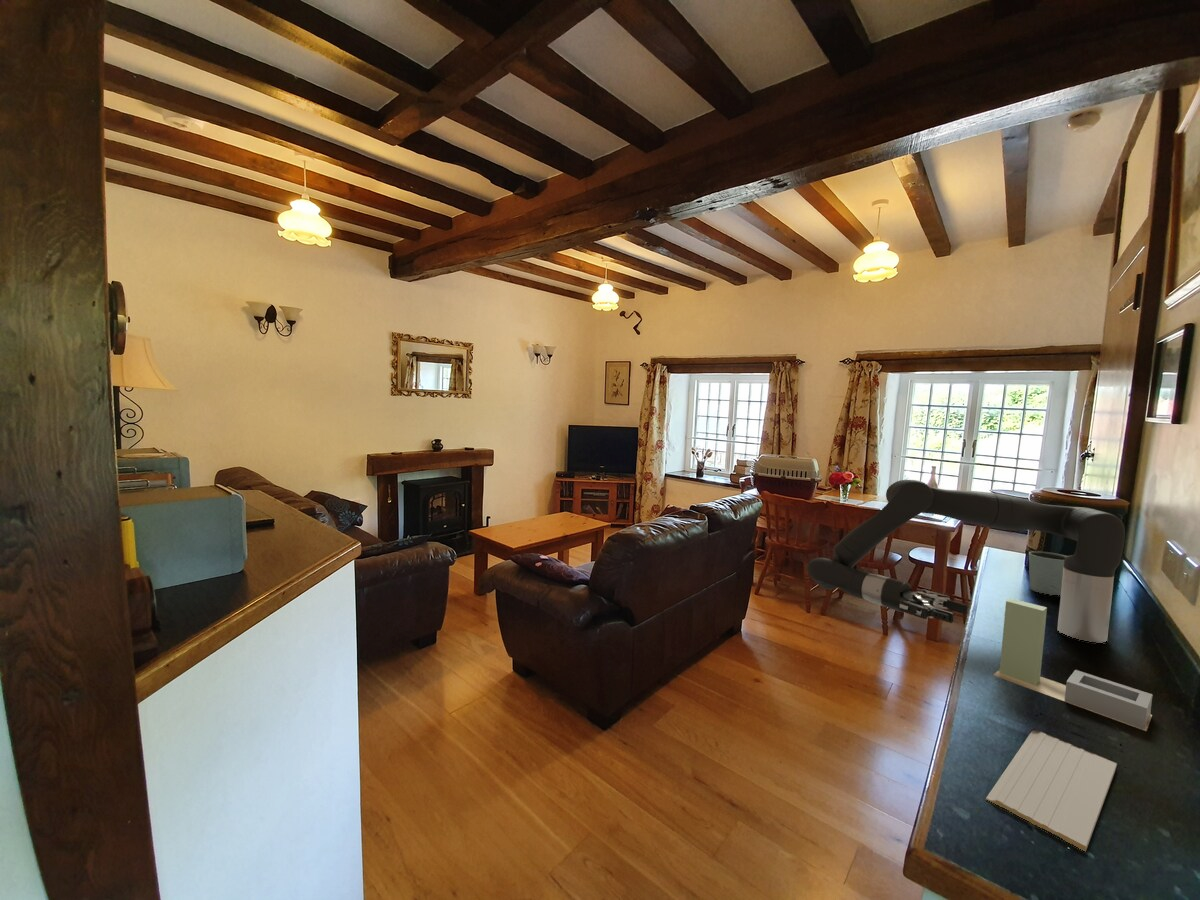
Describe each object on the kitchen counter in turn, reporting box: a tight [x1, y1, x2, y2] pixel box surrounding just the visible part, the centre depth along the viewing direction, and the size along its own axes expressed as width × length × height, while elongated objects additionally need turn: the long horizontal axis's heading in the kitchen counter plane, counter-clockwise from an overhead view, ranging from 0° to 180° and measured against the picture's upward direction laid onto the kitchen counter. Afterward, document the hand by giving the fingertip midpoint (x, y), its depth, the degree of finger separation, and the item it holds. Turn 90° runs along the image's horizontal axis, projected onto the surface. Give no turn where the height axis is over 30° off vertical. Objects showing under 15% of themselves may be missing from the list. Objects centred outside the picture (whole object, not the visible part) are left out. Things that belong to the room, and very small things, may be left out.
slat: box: [999, 597, 1048, 686], centre depth 103 cm, size 3×6×16 cm, turn 36°
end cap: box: [1064, 669, 1154, 731], centre depth 93 cm, size 8×10×4 cm
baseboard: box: [985, 712, 1123, 853], centre depth 77 cm, size 31×3×12 cm
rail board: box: [992, 668, 1153, 732], centre depth 97 cm, size 8×22×1 cm, turn 36°
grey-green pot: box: [1028, 550, 1068, 597], centre depth 158 cm, size 10×10×12 cm
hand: (960, 614), depth 111 cm, fingers open, 8 cm apart
